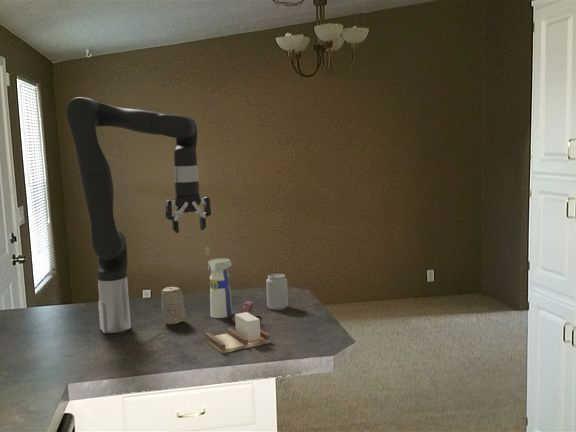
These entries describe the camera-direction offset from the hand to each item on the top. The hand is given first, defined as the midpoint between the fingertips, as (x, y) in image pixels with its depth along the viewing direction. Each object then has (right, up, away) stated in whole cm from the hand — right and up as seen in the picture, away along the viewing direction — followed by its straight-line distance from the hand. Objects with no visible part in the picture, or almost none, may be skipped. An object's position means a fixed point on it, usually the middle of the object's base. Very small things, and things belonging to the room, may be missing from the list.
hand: (189, 231), depth 187 cm
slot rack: (+16, -33, -10) cm, 38 cm away
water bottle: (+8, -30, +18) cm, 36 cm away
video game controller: (+16, -30, +13) cm, 37 cm away
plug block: (+19, -32, -9) cm, 38 cm away
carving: (-7, -31, +11) cm, 34 cm away
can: (+28, -28, +24) cm, 46 cm away
